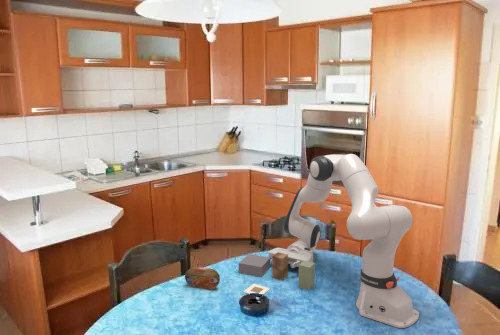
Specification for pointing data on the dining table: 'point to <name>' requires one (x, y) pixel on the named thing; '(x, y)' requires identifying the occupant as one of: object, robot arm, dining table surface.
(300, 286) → the olive block
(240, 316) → the dining table surface
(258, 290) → the card
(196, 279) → the tin
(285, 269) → the walnut block
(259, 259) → the base block
